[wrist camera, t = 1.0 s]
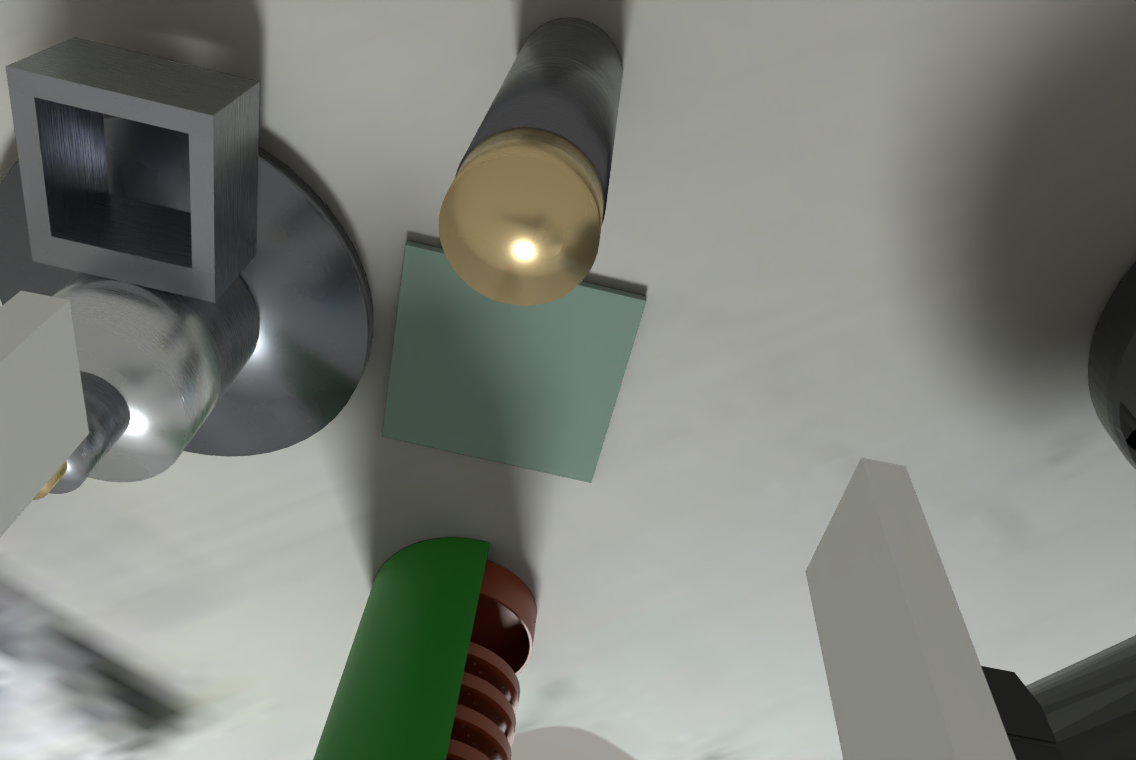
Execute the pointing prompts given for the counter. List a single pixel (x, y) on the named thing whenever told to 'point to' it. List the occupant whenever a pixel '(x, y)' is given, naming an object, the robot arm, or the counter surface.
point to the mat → (506, 369)
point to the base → (273, 277)
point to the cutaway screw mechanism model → (434, 659)
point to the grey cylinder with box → (141, 246)
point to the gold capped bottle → (538, 170)
